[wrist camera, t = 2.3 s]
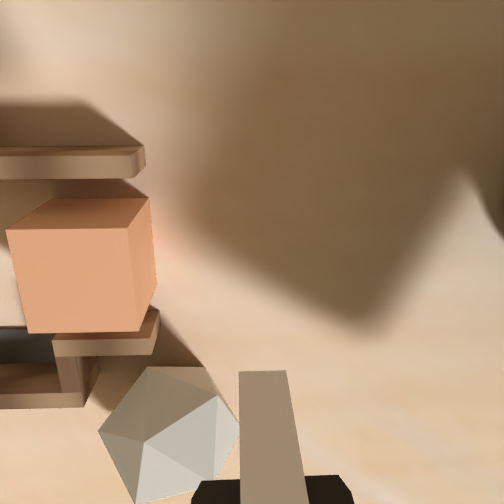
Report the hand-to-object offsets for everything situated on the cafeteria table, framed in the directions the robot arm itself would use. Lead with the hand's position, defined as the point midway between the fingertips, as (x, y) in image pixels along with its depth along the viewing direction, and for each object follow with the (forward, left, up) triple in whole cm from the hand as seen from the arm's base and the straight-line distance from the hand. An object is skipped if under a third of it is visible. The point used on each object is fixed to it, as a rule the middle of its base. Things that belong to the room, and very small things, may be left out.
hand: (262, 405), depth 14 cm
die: (+5, +12, -16) cm, 21 cm away
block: (+9, 0, -16) cm, 18 cm away
